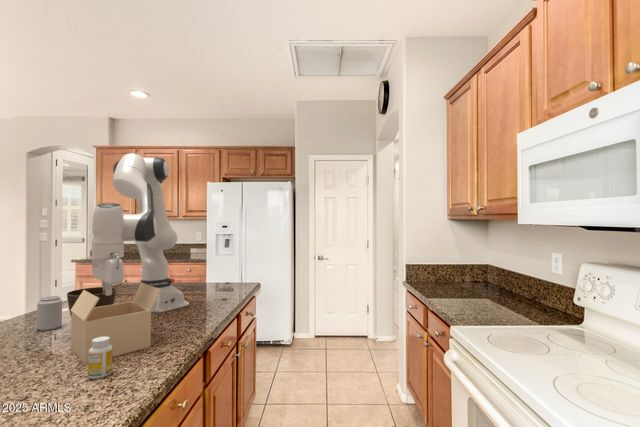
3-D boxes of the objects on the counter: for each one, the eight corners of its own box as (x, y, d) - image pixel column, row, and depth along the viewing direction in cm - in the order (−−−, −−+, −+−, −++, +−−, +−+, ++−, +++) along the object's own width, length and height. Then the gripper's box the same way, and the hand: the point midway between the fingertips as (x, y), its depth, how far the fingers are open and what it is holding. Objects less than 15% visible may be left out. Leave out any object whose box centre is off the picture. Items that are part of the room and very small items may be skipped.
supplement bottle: (91, 381, 86) (92, 344, 86) (85, 375, 89) (85, 339, 89) (114, 374, 90) (115, 338, 90) (107, 368, 93) (108, 334, 93)
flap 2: (132, 301, 121) (133, 301, 122) (150, 309, 110) (151, 309, 110) (141, 282, 124) (142, 283, 124) (159, 288, 112) (161, 289, 113)
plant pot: (125, 330, 126) (125, 288, 126) (88, 344, 112) (89, 296, 112) (94, 327, 130) (95, 286, 130) (55, 340, 116) (56, 293, 116)
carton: (131, 334, 121) (131, 301, 122) (150, 346, 109) (151, 310, 110) (70, 348, 108) (71, 311, 109) (85, 364, 96) (85, 322, 96)
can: (47, 332, 124) (48, 299, 124) (31, 330, 125) (32, 299, 126) (66, 326, 131) (67, 295, 132) (51, 324, 133) (51, 294, 133)
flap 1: (85, 321, 97) (83, 320, 96) (72, 310, 108) (70, 310, 108) (99, 298, 99) (98, 297, 99) (85, 290, 111) (83, 289, 111)
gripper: (129, 253, 104) (129, 298, 104) (109, 250, 118) (109, 289, 117) (106, 255, 99) (105, 301, 99) (88, 251, 113) (87, 291, 113)
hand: (107, 294), depth 108 cm, fingers closed
